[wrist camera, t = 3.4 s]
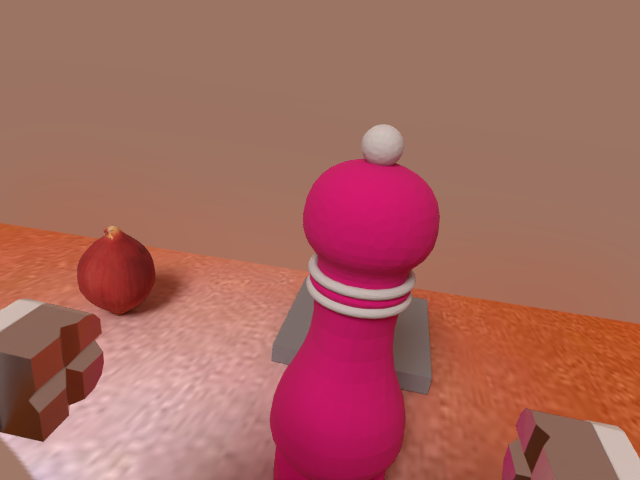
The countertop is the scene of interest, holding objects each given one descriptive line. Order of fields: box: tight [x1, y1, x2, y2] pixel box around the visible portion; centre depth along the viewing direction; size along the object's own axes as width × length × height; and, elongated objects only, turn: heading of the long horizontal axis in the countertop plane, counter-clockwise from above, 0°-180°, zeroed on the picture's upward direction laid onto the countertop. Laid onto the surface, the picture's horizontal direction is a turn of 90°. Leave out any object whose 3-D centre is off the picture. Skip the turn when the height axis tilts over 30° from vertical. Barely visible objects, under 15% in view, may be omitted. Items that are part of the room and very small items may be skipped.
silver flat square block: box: [271, 277, 432, 395], centre depth 40 cm, size 12×12×2 cm
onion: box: [77, 226, 155, 315], centre depth 38 cm, size 6×6×8 cm
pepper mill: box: [270, 124, 440, 480], centre depth 23 cm, size 7×7×20 cm
